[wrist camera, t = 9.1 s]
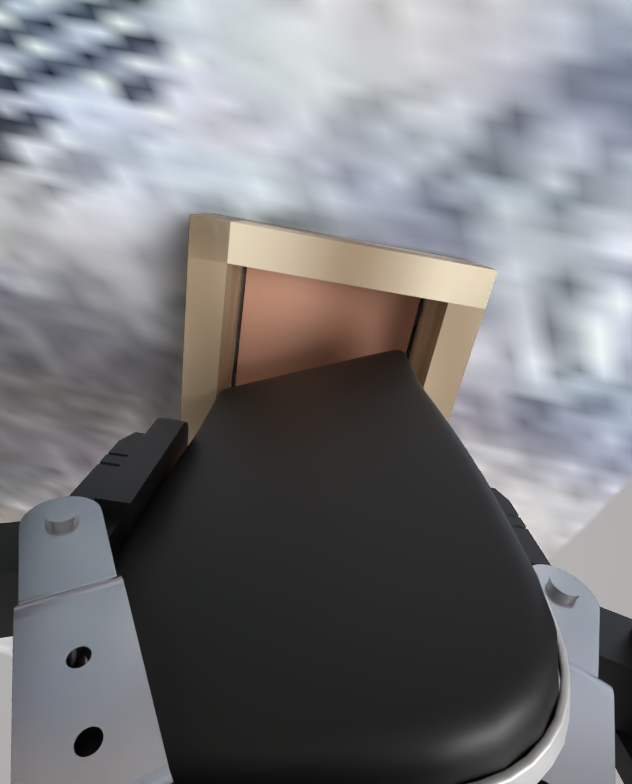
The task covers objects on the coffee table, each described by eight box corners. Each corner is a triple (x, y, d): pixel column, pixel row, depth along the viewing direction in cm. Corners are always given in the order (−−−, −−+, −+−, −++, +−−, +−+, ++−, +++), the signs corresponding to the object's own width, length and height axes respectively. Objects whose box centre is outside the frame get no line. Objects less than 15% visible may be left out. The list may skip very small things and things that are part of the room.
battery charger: (245, 475, 16) (97, 962, 6) (212, 387, 15) (-69, 819, 4) (426, 438, 15) (642, 926, 5) (409, 341, 14) (666, 736, 3)
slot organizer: (186, 626, 24) (168, 681, 21) (214, 214, 15) (190, 214, 12) (350, 647, 24) (354, 704, 21) (467, 260, 16) (498, 270, 13)
